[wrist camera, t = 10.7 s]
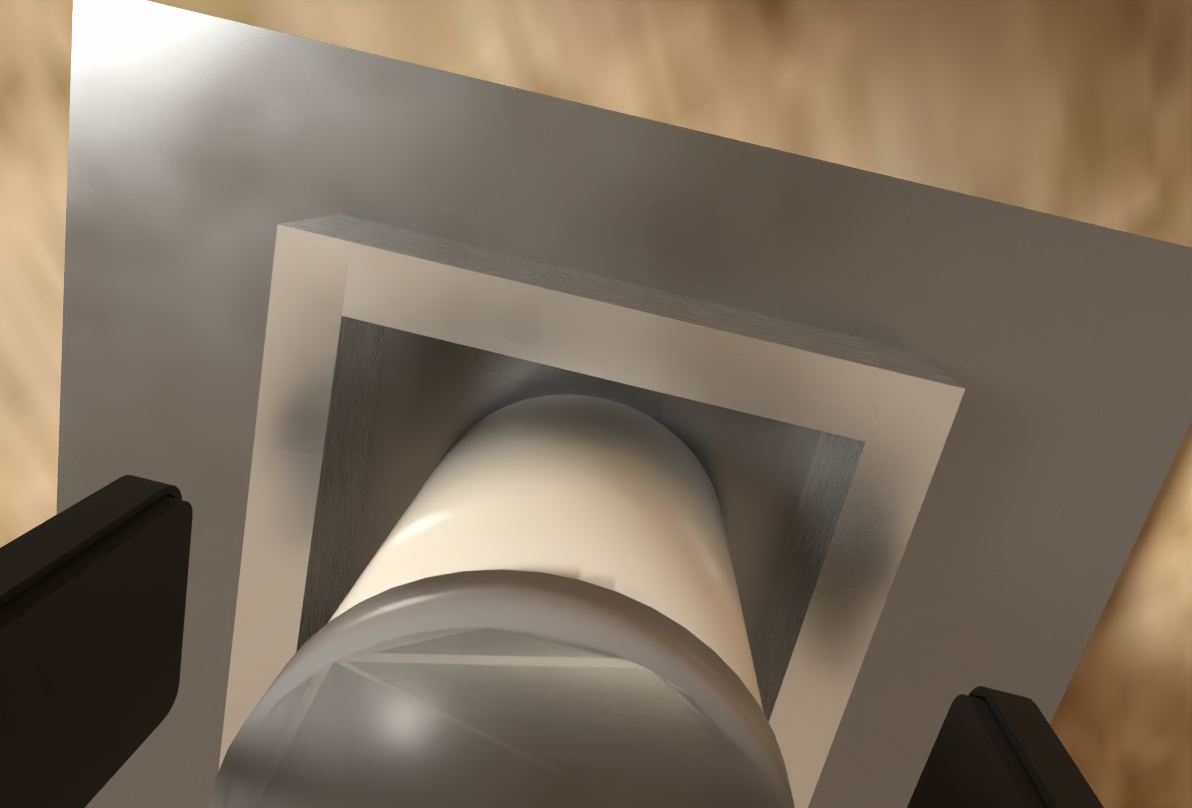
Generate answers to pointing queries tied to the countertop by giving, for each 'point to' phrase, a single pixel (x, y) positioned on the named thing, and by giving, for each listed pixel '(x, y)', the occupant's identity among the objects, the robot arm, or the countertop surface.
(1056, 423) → the mount plate
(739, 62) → the countertop surface
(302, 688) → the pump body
